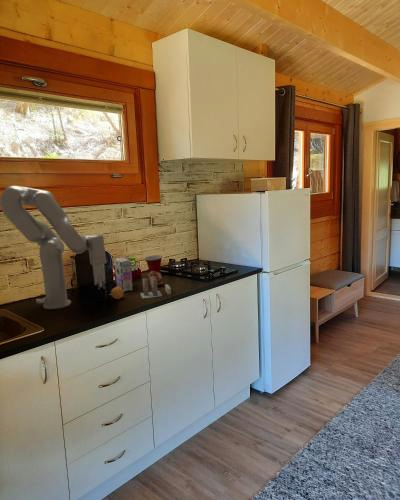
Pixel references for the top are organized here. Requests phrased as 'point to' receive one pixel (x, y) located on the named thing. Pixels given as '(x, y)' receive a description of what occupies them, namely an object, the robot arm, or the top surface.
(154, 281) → the back pin near
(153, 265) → the plastic cup
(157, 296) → the pin deck mark
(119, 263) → the candy box
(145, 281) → the front pin
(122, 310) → the top surface
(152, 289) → the back pin far
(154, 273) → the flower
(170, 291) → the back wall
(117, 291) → the ball
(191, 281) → the top surface
